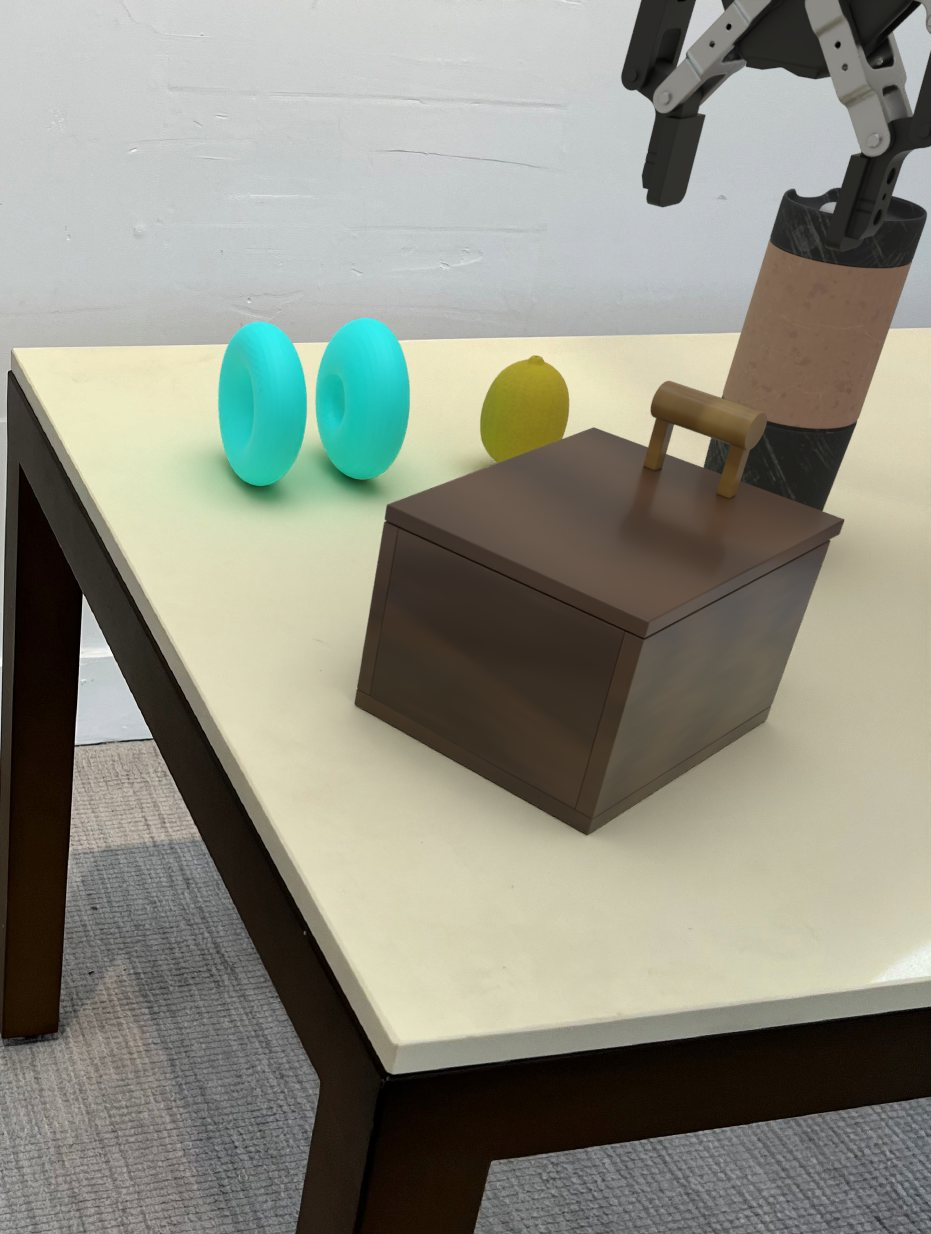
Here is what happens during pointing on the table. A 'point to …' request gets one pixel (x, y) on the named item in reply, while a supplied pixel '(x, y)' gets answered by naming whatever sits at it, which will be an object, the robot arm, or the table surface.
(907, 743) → the table surface
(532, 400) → the lemon
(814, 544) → the lid
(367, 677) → the chest
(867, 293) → the travel mug
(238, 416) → the donuts
